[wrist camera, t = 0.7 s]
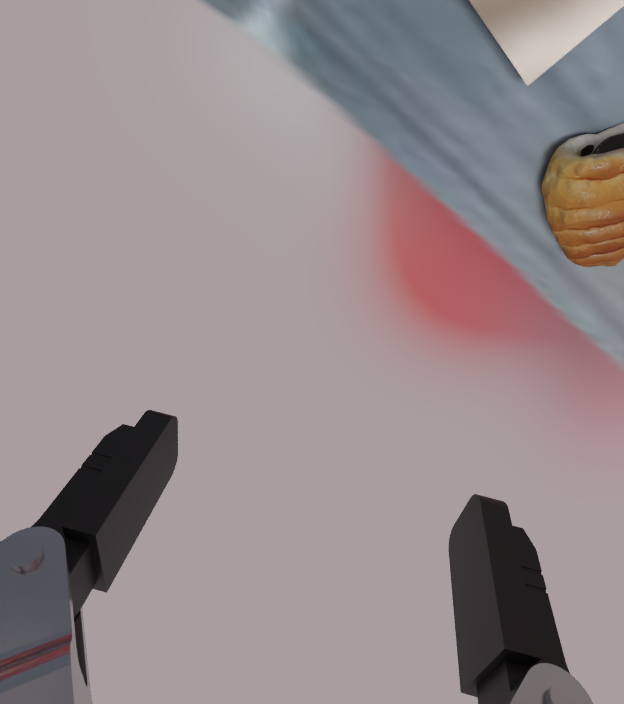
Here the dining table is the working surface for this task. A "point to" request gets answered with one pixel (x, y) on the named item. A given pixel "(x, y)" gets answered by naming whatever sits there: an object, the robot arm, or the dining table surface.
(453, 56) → the dining table surface
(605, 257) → the pastry
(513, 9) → the door board
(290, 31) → the dining table surface
